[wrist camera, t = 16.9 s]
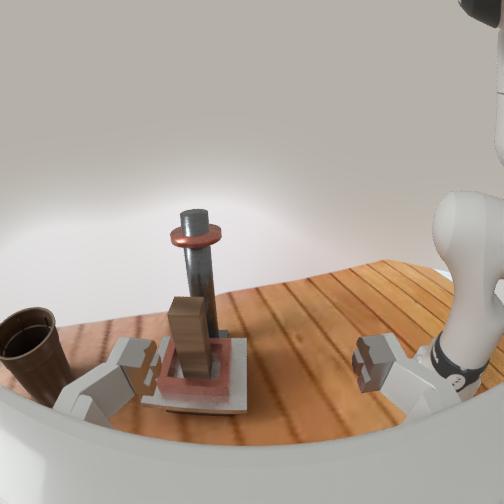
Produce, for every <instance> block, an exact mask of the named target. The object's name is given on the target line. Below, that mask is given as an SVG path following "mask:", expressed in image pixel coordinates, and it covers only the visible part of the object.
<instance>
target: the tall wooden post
mask: <svg viewBox="0 0 504 504" xmlns="http://www.w3.org/2000/svg"><path fill="white" fill-rule="evenodd" d="M167 315H168V319H169V323H170V327H171V332H172V336H173V340H174V343H175V347H176V351H177V355H178V359H179V362H180V366H181V369H182V373H183V376H184V378H188V379H208V380H210V377H211V369H212V362H213V360H212V354H211V347H210V341H209V334H208V327H207V320H206V312H205V305H204V297H174V299H173V302H172V305H171V307H170V309H169V312H168V314H167Z"/></svg>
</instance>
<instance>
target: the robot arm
mask: <svg viewBox="0 0 504 504" xmlns="http://www.w3.org/2000/svg"><path fill="white" fill-rule="evenodd" d="M458 2H459V4H460V6H461V7H462V8H463V10H464V11H465V12H466V13H467V14H468V15H469V16H471V17H473V18H475V19H476V20H478V21H480V22H483V23H485V24H487V25H489V26H491V27H493V28H497V27H499V28H501V29H500V31H499V34H498V45H497V93H498V94H497V109H496V129H495V140H494V142H495V149H496V152H497V155H498V158H499V160H500V161H501V163H502V165H503V166H504V0H458ZM432 235H433V240H434V244H435V247H436V250H437V252H438V254H439V255H440V257H441V258H442V259H443V261H444V262H445V264H446V265H447V267H448V269H449V271H450V273H451V276H452V279H453V284H454V299H453V304H452V307H451V311H450V314H449V317H448V320H447V322H446V325H445V327H444V329H443V331H442V332H441V333H440V334H439V335H438V336H437V337H435V338H433V339H432V341H431V343H430V345H425V346H420V348H419V349H418V351H417V352H416V354H415V356H414V357H413V359H412V358H407V356H406V354H405V352H404V351H403V349H402V347H401V345H400V344H399V342H398V340H397V338H396V337H395V335H394V334H393V333H386V334H381V335H373V336H365V337H359V339H358V341H357V344H356V345H357V347H358V349H357V350H355V351H354V353H353V357H352V366H353V370H354V373H355V374H356V375H358V376H359V378H358V381H357V382H358V385H359V388H360V391H361V393H366V392H373V391H379V390H380V392H381V393H382V394H383V395H384V396H385V397H387V398H388V399H389V400H390V401H391V402H392V403H393V404H394V405H396V406H397V407H398V408H399V409H400V410H401V411H402V412H403V413H405V414H406V415H407V416H406V418H405V419H404V420H403V422H402V423H401V424H400V425H398V426H395V427H391V428H387V429H384V430H380V431H375V432H371V433H367V434H362V435H357V436H352V437H346V438H341V439H334V440H328V441H320V442H312V443H302V444H290V445H273V446H225V445H207V444H196V443H186V442H178V441H171V440H164V439H158V438H152V437H146V436H141V435H136V434H132V433H127V432H123V431H119V430H115V428H114V427H113V426H112V425H111V423H110V422H109V421H108V420H109V419H110V418H111V417H112V416H113V415H114V414H115V413H116V412H117V411H119V410H120V409H121V408H122V407H123V406H124V405H125V404H126V403H127V402H128V401H129V400H130V399H131V398H132V397H133V396H135V394H138V395H145V396H154V393H155V390H156V386H157V383H156V380H155V379H157V378H158V377H159V376H160V373H161V367H162V362H161V357H160V355H159V354H158V353H157V352H156V349H157V345H156V342H155V341H153V340H146V339H138V338H128V337H120V338H119V339H118V341H117V342H116V344H115V346H114V348H113V350H112V352H111V354H110V356H109V358H108V360H107V362H106V363H102V364H100V365H98V366H97V367H95V368H94V369H92V370H91V371H89V372H87V373H86V374H84V375H83V376H81V377H80V378H78V379H76V380H75V381H73V382H72V383H70V384H69V385H67V386H65V387H64V388H63V389H62V391H61V393H60V395H59V397H58V399H57V401H56V403H55V405H54V406H53V408H52V409H51V408H48V407H46V406H43V405H41V404H39V403H36V402H34V401H32V400H30V399H28V398H26V397H24V396H21V395H19V394H17V393H15V392H14V391H12V390H10V389H8V388H6V387H4V386H2V385H0V504H504V382H502V383H500V384H499V385H497V386H495V387H493V388H491V389H489V390H487V391H485V392H483V393H481V394H479V395H477V396H475V397H473V395H474V394H475V392H476V391H477V389H478V388H479V386H480V384H481V375H482V374H483V373H484V371H485V369H486V367H487V365H488V363H489V360H490V356H491V355H492V353H493V351H494V350H495V348H496V346H497V344H498V343H499V341H500V339H501V337H502V335H503V333H504V305H503V304H502V302H501V300H500V299H499V298H498V297H497V295H496V294H495V293H494V290H495V287H496V284H497V282H498V280H499V279H504V199H501V198H498V197H494V196H491V195H488V194H484V193H481V192H471V191H451V192H449V193H448V194H447V195H446V196H445V197H444V198H443V199H442V200H441V201H440V203H439V204H438V206H437V208H436V211H435V213H434V217H433V224H432ZM472 397H473V398H472Z"/></svg>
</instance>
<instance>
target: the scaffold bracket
mask: <svg viewBox="0 0 504 504" xmlns="http://www.w3.org/2000/svg"><path fill="white" fill-rule="evenodd" d="M180 217H181V227H178V228H176V229H174V230H173V231H172V232H171V234H170V236H171V242H172V244H173V245H175V246H177V247H182V248H184V254H185V262H186V269H187V277H188V284H189V291H190V297H204V305H205V312H206V320H207V327H208V334H209V341H210V347H211V354H212V360H213V362H212V369H211V377H210V380H208V379H188V378H184V376H183V373H182V369H181V366H180V362H179V359H178V355H177V351H176V347H175V343H174V340H173V337H170V336H163V337H162V340H161V343H160V346H159V349H158V351H157V353H158V354H159V355H160V357H161V362H162V367H161V373H160V376H159V377H158V378H157V379H155V380H156V383H157V386H156V390H155V393H154V396H145V395H143V397H142V400H141V404H142V406H143V407H150V408H157V409H165V410H166V411H167V412H171V413H181V414H193V415H209V416H233V414H247V338H228V330H218V322H217V313H216V303H215V293H214V284H213V283H214V282H213V272H212V260H211V247H210V245H212V244H214V243H216V242H218V241H219V240H220V239H221V237H222V236H221V228H220V227H218V226H216V225H213V224H209V220H208V211H207V210H204V209H192V210H187V211H184V212H182V213H180Z"/></svg>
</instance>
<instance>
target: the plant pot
mask: <svg viewBox="0 0 504 504" xmlns="http://www.w3.org/2000/svg"><path fill="white" fill-rule="evenodd" d="M0 360H1V362H2V363H3V364H4V366H5V367H6V368H7V369H8V370H10V371H11V373H12V374H13V375H14V376H15V378H16V379H17V380H18V381H19V382H20V384H21V385H22V386H23V387H24V388H25V389H26V391H27V392H28V393H29V394H30V395H31V396H32V397H33V398H34V399H35V401H36V402H37V403H39V404H41V405H43V406H46V407H48V408H52V407H53V406H54V405H55V403H56V401H57V399H58V397H59V395H60V393H61V391H62V389H63V388H64V387H65V386H67V385H69V384H70V383H72V382H73V381H75V377H74V375H73V373H72V371H71V368H70V366H69V364H68V362H67V359H66V357H65V355H64V352H63V350H62V347H61V344H60V342H59V336H58V332H57V330H56V327H55V318H54V315H53V313H52V312H50V311H49V310H48V309H45V308H41V307H33V308H27V309H24V310H21V311H19V312H16V313H14V314H12V315H11V316H9V317H8V318H7V319H5V320H4V321H3V322H2V323H1V324H0Z"/></svg>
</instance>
